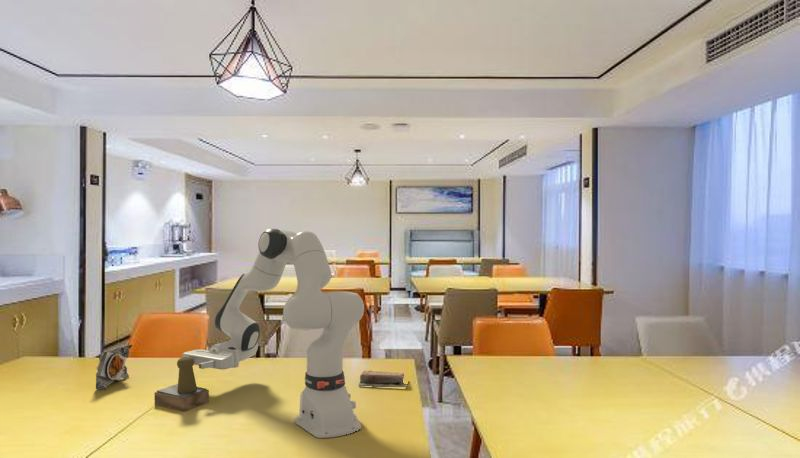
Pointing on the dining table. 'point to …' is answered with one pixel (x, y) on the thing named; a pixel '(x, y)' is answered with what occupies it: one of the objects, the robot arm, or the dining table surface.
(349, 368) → the dining table surface
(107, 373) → the grey mechanical part
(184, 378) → the brown chess pawn
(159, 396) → the walnut riser
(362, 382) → the packaged product
